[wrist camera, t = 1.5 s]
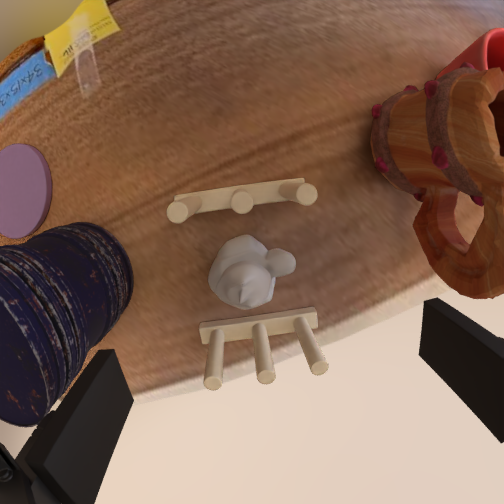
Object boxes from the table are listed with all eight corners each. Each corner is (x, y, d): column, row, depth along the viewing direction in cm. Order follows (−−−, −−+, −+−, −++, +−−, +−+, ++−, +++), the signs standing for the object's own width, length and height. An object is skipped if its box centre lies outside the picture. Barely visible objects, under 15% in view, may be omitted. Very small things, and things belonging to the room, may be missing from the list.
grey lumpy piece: (200, 245, 25) (184, 274, 17) (277, 218, 25) (296, 235, 17) (222, 304, 26) (218, 353, 19) (297, 279, 26) (321, 319, 18)
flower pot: (416, 40, 22) (474, 3, 12) (491, 77, 22) (551, 61, 13) (417, 138, 24) (489, 128, 14) (493, 165, 25) (560, 169, 15)
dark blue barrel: (110, 203, 24) (-62, 252, 6) (152, 309, 26) (64, 469, 9) (29, 242, 24) (-115, 309, 7) (69, 334, 26) (-33, 453, 9)
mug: (353, 88, 23) (461, 16, 8) (430, 100, 23) (550, 66, 8) (357, 257, 26) (466, 335, 11) (432, 252, 26) (549, 309, 12)
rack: (176, 195, 24) (148, 202, 16) (301, 177, 24) (331, 177, 16) (203, 338, 27) (193, 394, 19) (314, 322, 27) (341, 373, 19)
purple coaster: (-14, 159, 22) (-20, 159, 21) (47, 132, 22) (41, 131, 21) (-3, 243, 24) (-8, 245, 23) (59, 228, 24) (53, 230, 23)
